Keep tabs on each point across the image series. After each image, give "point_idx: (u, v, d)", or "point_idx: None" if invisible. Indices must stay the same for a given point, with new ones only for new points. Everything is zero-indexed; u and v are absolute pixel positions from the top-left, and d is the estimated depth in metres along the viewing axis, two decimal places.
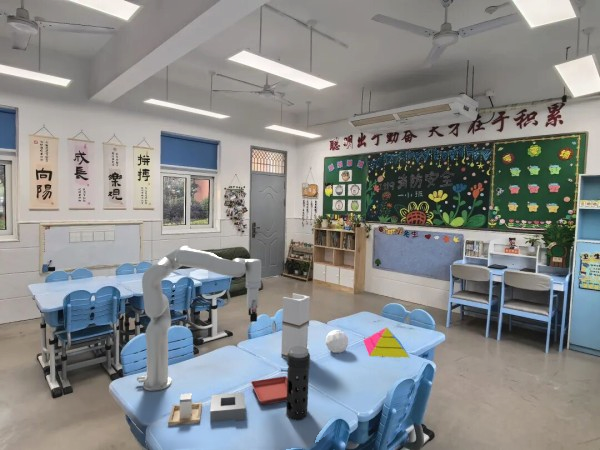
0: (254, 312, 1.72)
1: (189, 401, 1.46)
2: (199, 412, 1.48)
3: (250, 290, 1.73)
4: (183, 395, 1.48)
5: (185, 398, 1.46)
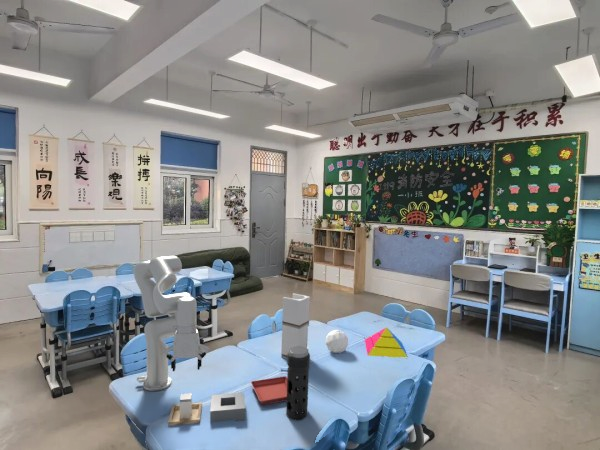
0: None
1: (189, 401, 1.46)
2: (199, 412, 1.48)
3: (197, 333, 1.45)
4: (183, 395, 1.48)
5: (185, 398, 1.46)
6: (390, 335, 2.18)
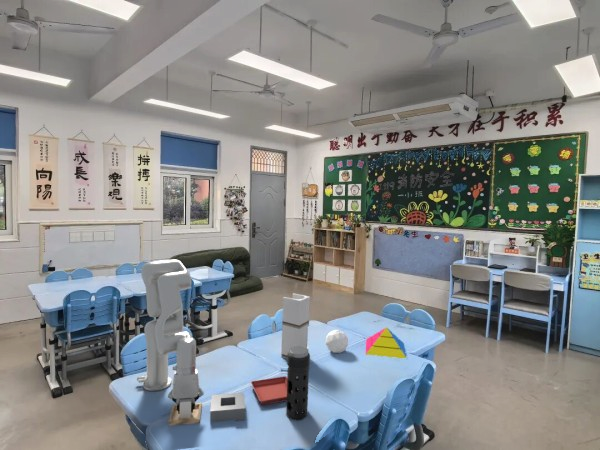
0: None
1: (189, 401, 1.46)
2: (199, 412, 1.48)
3: (197, 374, 1.46)
4: None
5: (185, 398, 1.46)
6: (389, 335, 2.18)
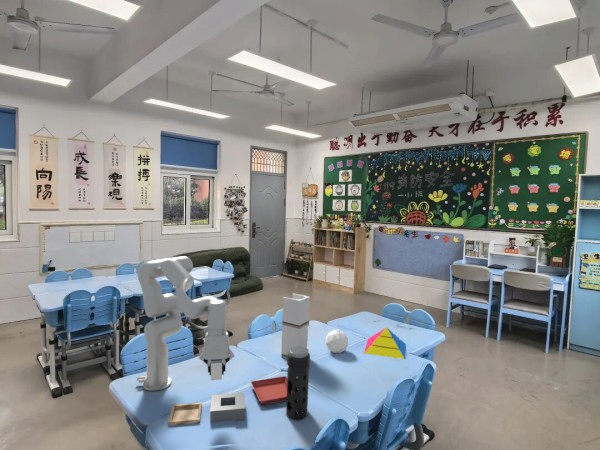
0: None
1: (220, 363, 1.47)
2: (199, 412, 1.48)
3: (227, 336, 1.47)
4: None
5: (216, 360, 1.47)
6: (389, 335, 2.18)
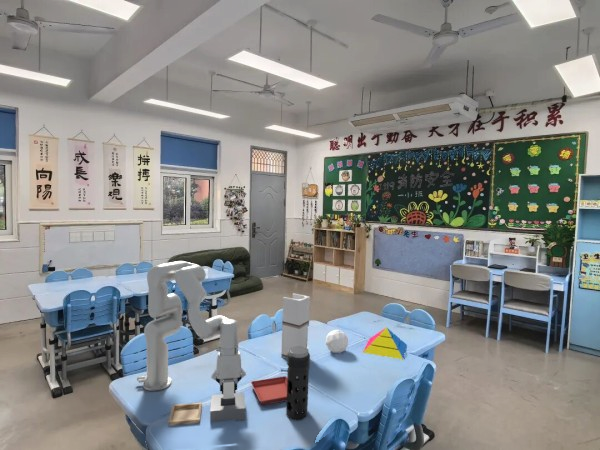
0: None
1: (232, 381, 1.49)
2: (199, 412, 1.48)
3: (239, 355, 1.49)
4: None
5: None
6: (388, 335, 2.18)
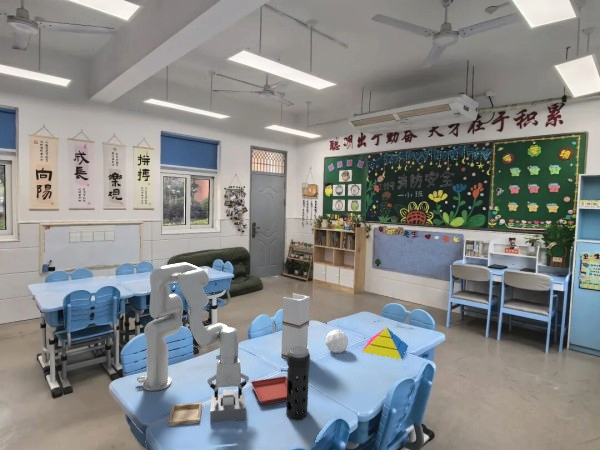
0: None
1: (232, 397, 1.49)
2: (199, 412, 1.48)
3: (239, 363, 1.49)
4: (225, 391, 1.51)
5: (228, 394, 1.50)
6: (388, 335, 2.18)
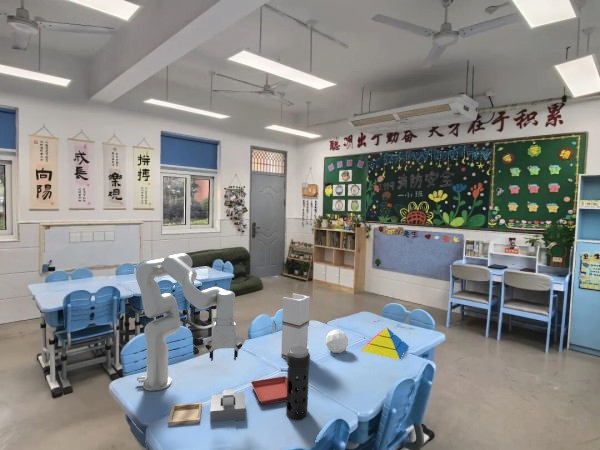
0: None
1: (232, 397, 1.49)
2: (199, 412, 1.48)
3: (235, 326, 1.52)
4: (225, 391, 1.51)
5: (228, 394, 1.50)
6: (388, 335, 2.18)
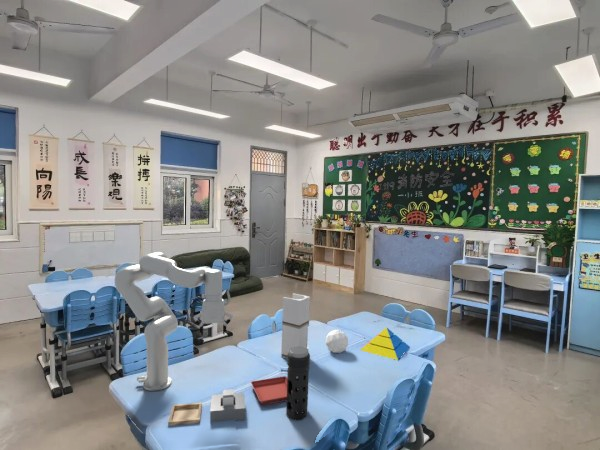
0: None
1: (232, 397, 1.49)
2: (199, 412, 1.48)
3: (223, 302, 1.62)
4: (225, 391, 1.51)
5: (228, 394, 1.50)
6: (387, 335, 2.18)
